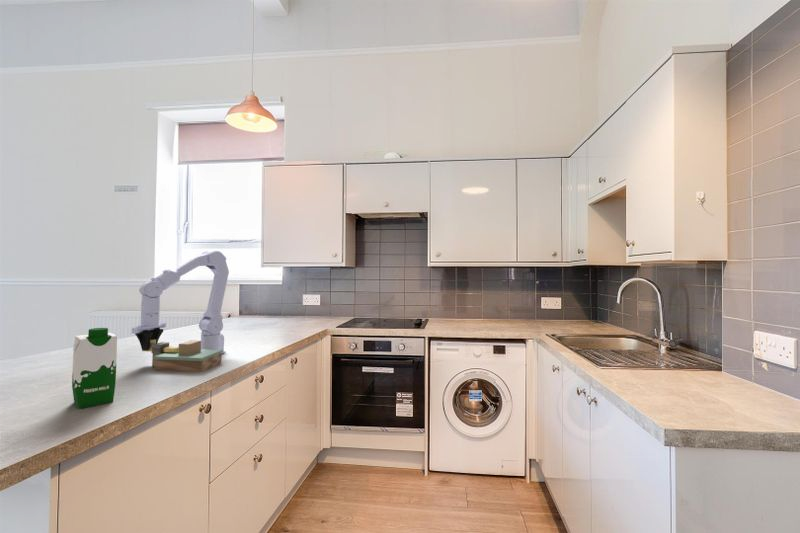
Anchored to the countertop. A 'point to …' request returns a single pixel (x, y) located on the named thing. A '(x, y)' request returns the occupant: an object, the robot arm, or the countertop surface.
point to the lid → (189, 352)
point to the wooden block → (163, 349)
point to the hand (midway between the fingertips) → (149, 349)
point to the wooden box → (181, 361)
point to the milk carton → (94, 368)
